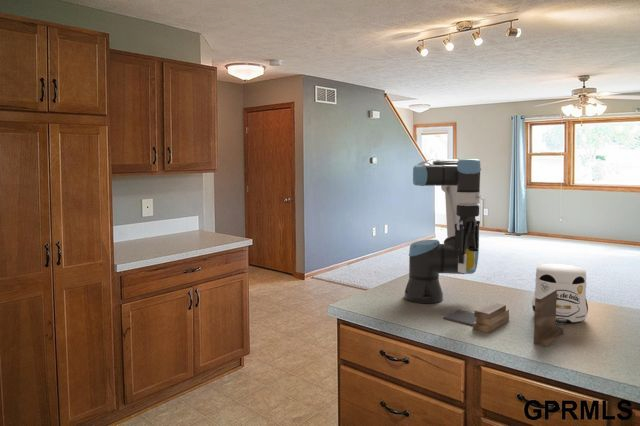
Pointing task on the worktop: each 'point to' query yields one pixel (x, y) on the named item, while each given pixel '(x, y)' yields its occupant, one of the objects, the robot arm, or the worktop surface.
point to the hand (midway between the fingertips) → (466, 270)
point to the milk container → (564, 290)
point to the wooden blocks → (543, 320)
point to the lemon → (469, 259)
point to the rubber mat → (461, 317)
